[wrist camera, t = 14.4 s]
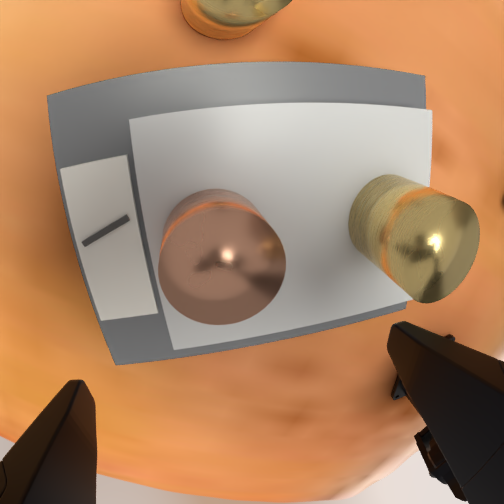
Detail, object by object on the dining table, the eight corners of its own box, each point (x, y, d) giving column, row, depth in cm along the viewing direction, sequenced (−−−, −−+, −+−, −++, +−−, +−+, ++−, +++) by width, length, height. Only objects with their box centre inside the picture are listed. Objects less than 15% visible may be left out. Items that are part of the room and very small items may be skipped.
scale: (387, 291, 23) (418, 321, 19) (120, 340, 19) (113, 384, 16) (400, 76, 16) (443, 75, 13) (64, 97, 13) (32, 94, 9)
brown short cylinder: (268, 277, 15) (288, 312, 12) (173, 293, 14) (172, 333, 12) (261, 181, 13) (282, 199, 10) (153, 198, 12) (145, 220, 10)
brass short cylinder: (413, 251, 16) (467, 290, 12) (345, 264, 16) (395, 314, 12) (422, 172, 15) (486, 197, 11) (349, 176, 14) (411, 205, 10)
